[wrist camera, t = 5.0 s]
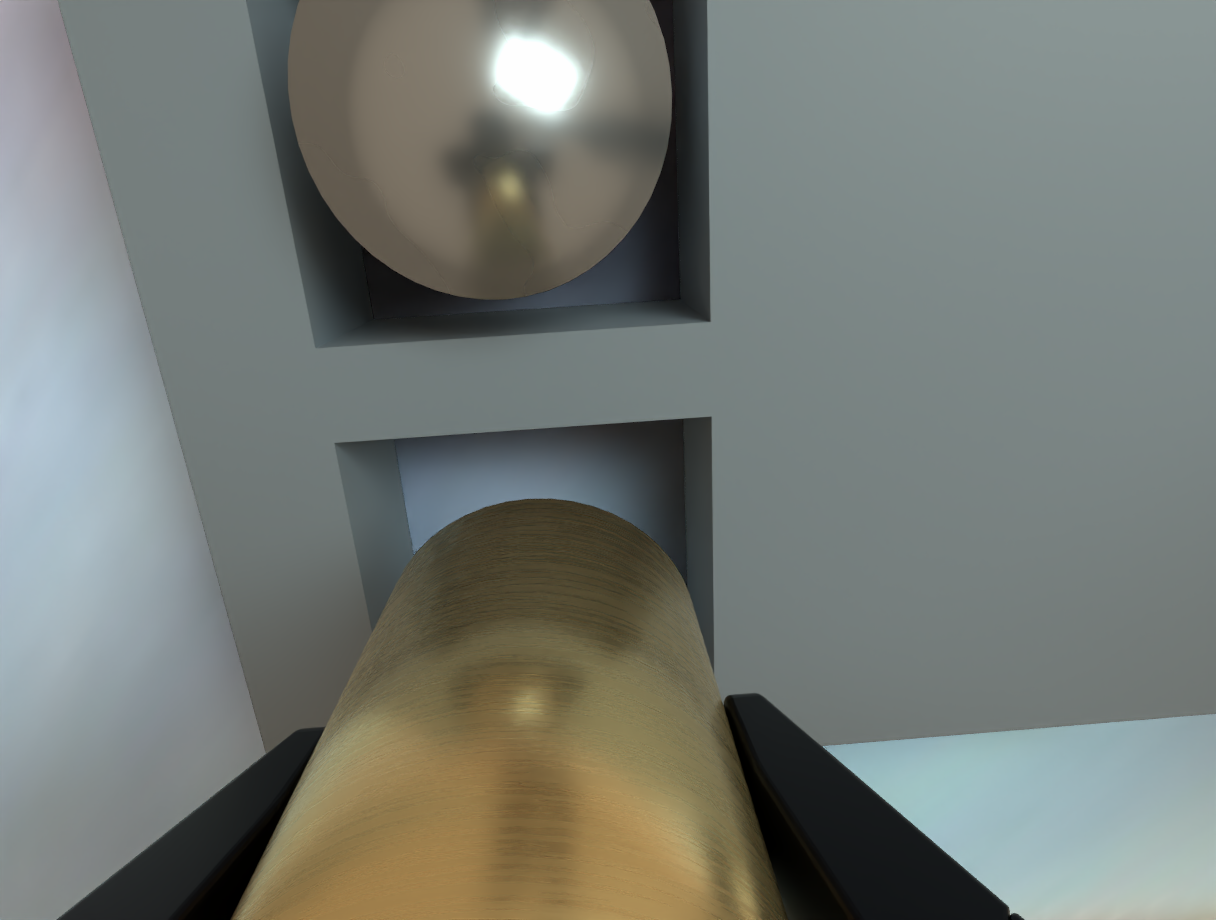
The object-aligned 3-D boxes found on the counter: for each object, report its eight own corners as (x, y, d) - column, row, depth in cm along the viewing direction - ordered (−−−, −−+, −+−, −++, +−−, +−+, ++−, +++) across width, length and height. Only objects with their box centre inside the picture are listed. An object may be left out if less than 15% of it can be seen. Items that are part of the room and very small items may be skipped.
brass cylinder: (692, 487, 9) (1221, 1699, 2) (698, 752, 11) (992, 2044, 3) (361, 510, 9) (-672, 1911, 2) (412, 775, 11) (0, 2166, 3)
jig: (1315, -152, 11) (1577, -283, 8) (1141, 619, 16) (1268, 709, 13) (155, -93, 10) (-1, -209, 8) (332, 683, 15) (276, 790, 12)
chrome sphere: (633, -17, 11) (665, -138, 7) (645, 266, 13) (677, 287, 9) (358, -1, 11) (246, -115, 7) (403, 283, 12) (328, 311, 9)
